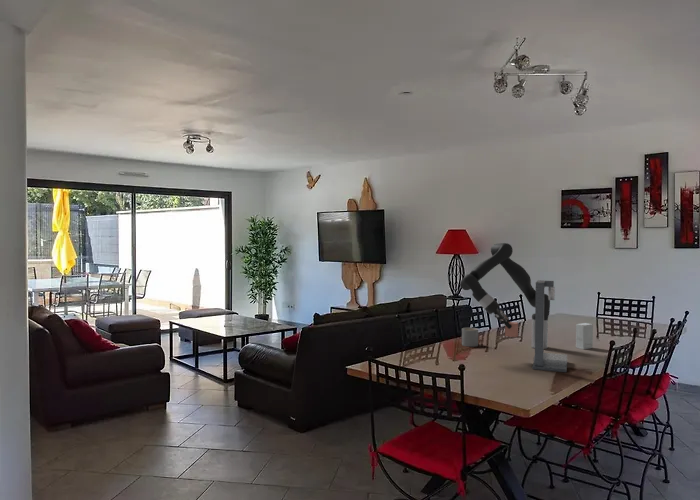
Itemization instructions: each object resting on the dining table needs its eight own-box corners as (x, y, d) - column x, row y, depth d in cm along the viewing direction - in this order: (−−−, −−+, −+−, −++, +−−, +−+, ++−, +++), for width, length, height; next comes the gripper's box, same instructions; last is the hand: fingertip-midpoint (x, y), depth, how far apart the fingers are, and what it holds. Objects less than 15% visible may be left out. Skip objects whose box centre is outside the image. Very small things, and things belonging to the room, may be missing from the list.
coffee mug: (474, 347, 318) (474, 330, 317) (459, 345, 323) (459, 329, 323) (482, 343, 328) (482, 327, 328) (467, 341, 334) (467, 326, 334)
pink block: (506, 334, 287) (506, 321, 287) (517, 335, 285) (517, 322, 285) (505, 336, 282) (505, 323, 282) (516, 336, 280) (516, 323, 279)
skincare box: (584, 346, 321) (585, 322, 321) (593, 348, 316) (593, 324, 315) (575, 347, 317) (575, 323, 317) (583, 349, 312) (583, 325, 312)
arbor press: (535, 359, 286) (536, 279, 285) (567, 362, 280) (568, 280, 279) (532, 369, 264) (533, 282, 263) (566, 372, 258) (567, 283, 257)
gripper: (492, 300, 280) (515, 324, 276) (495, 298, 293) (517, 320, 289) (482, 310, 282) (504, 333, 278) (486, 306, 295) (507, 329, 291)
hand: (511, 326), depth 283 cm, fingers closed on pink block, 5 cm apart
